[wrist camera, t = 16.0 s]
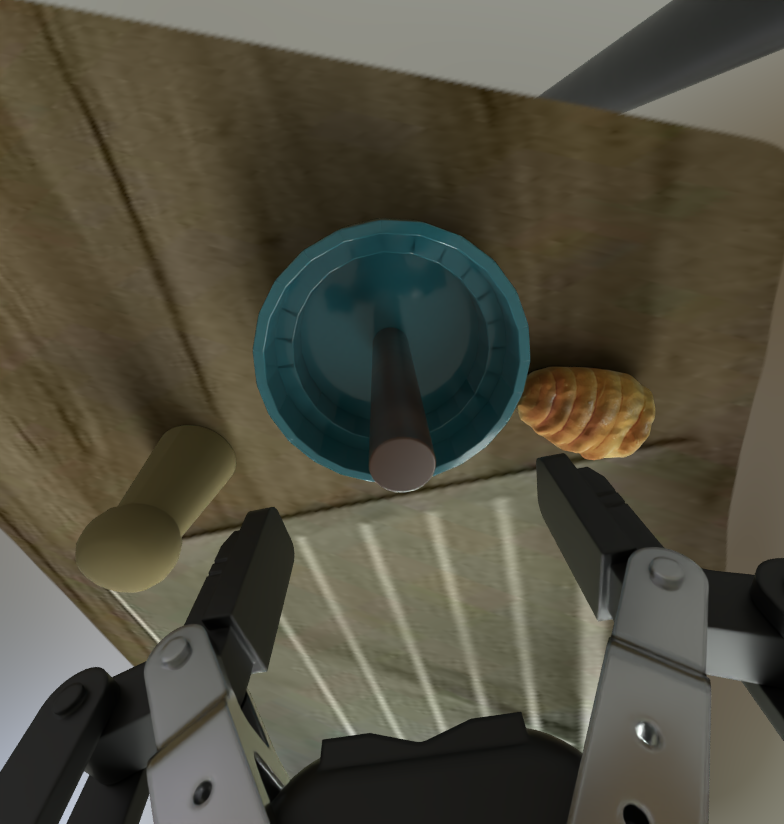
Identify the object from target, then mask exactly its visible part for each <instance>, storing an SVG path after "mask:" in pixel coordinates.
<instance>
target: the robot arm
mask: <svg viewBox="0 0 784 824" xmlns="http://www.w3.org/2000/svg"><path fill="white" fill-rule="evenodd" d="M536 469H537V492H538V503H539V507H540V511H541V514H542V516H543V518H544V520H545V522H546V524H547V526H548V528H549V530H550V532H551V534H552V536H553V537H554V539H555V541H556V543H557V545H558V547H559V549H560V551H561V553H562V554H563V556H564V558H565V560H566V562H567V564H568V566H569V568H570V569H571V571H572V573H573V575H574V577H575V579H576V581H577V583H578V585H579V586H580V588H581V590H582V592H583V594H584V596H585V598H586V600H587V602H588V603H589V605H590V607H591V609H592V611H593V613H594V615H595V617H596V618H597V620H598V621H603V620H609V619H613V620H614V626H613V631H612V635H611V637H609V640H608V643H607V647H606V651H605V655H604V660H603V664H602V669H601V673H600V678H599V682H598V687H597V691H596V696H595V700H594V704H593V709H592V713H591V718H590V722H589V727H588V731H587V736H586V740H585V745H584V749H583V753H581V752H580V751H579V750H577V749H576V748H574V747H573V746H571V745H569V744H568V743H566V742H564V741H563V740H560V739H558V738H556V737H554V736H552V735H550V734H547V733H544V732H541V731H538V730H533V729H528V728H526V727H525V723H524V720H523V716H522V713H521V712H516V713H509V714H502V715H495V716H487V717H480V718H473V719H470V720H468V721H465V722H463V723H461V724H459V725H457V726H455V727H453V728H451V729H449V730H447V731H445V732H443V733H441V734H439V735H437V736H434V737H432V738H430V739H428V740H426V741H423V742H414V741H409V740H403V739H398V738H393V737H388V736H382V735H377V734H372V733H367V734H360V735H353V736H346V737H338V738H331V739H324V740H322V748H321V757H320V759H318V760H316V761H314V762H313V763H311V764H310V765H308V766H307V767H305V768H304V769H303V770H301V771H300V772H299V773H298V774H297V775H295V776H294V777H293V778H292V779H291V780H290V778H289V776H288V774H287V772H286V771H285V769H284V767H283V766H282V764H281V762H280V760H279V758H278V756H277V754H276V752H275V749H274V747H273V745H272V742H271V740H270V738H269V735H268V733H267V731H266V728H265V726H264V724H263V721H262V719H261V716H260V714H259V712H258V709H257V707H256V705H255V702H254V700H253V698H252V695H251V693H250V691H249V689H248V688H247V686H248V683H249V679H250V675H251V674H253V673H259V672H266V671H267V670H268V666H269V662H270V658H271V653H272V649H273V645H274V641H275V637H276V633H277V629H278V625H279V621H280V617H281V612H282V608H283V604H284V600H285V596H286V592H287V588H288V584H289V580H290V575H291V571H292V567H293V563H294V547H293V543H292V540H291V538H290V536H289V534H288V532H287V530H286V527H285V525H284V523H283V521H282V519H281V517H280V515H279V512H278V510H277V509H276V508H275V507H270V508H265V509H260V510H254V511H250V512H248V514H247V515H246V517H245V520H244V522H243V524H242V527H241V529H240V530H238V531H234V532H233V533H232V534H231V535H230V537H229V538H228V539H227V540H226V541H225V542H224V543H223V545H222V546H221V548H220V550H219V552H218V554H217V556H216V558H215V564H213V565H212V567H211V569H210V571H209V576H208V577H207V578H206V580H205V582H204V584H203V586H202V588H201V590H200V593H199V595H198V597H197V599H196V601H195V603H194V605H193V607H192V610H191V612H190V614H189V616H188V618H187V620H186V622H185V624H184V626H182V627H180V628H177V629H176V630H174V631H172V632H171V633H169V634H168V635H167V636H166V637H164V638H163V639H162V640H161V641H160V642H159V643H158V644H157V645H156V647H155V648H154V649H153V651H152V652H151V654H150V655H149V657H148V659H147V661H146V662H143V663H141V664H139V665H137V666H135V667H133V668H131V669H129V670H127V671H124V672H122V673H120V674H118V675H116V676H114V677H111V676H110V675H109V674H108V673H107V672H106V671H105V670H104V669H102V668H100V667H93V668H89V669H85V670H83V671H81V672H79V673H77V674H75V675H74V676H72V677H71V678H69V679H68V680H67V681H65V682H64V683H63V684H62V685H60V687H58V688H57V689H56V690H55V691H54V692H53V693H52V694H51V695H50V697H49V698H48V699H47V700H46V701H45V703H44V704H43V706H42V707H41V709H40V710H39V712H38V713H37V715H36V717H35V718H34V720H33V722H32V723H31V725H30V726H29V728H28V729H27V731H26V732H25V734H24V735H23V737H22V739H21V740H20V742H19V743H18V745H17V747H16V748H15V750H14V751H13V753H12V754H11V756H10V758H9V759H8V761H7V762H6V764H5V765H4V767H3V769H2V770H1V772H0V824H59V821H60V819H61V817H62V815H63V813H64V811H65V809H66V807H67V805H68V802H69V801H70V799H71V796H72V795H73V792H74V790H75V788H76V786H77V784H78V782H79V780H80V778H81V776H82V774H83V772H84V771H85V772H86V773H88V774H89V777H88V779H87V781H86V783H85V786H84V788H83V790H82V792H81V794H80V796H79V798H78V801H77V802H76V805H75V807H74V809H73V811H72V813H71V815H70V817H69V819H68V822H67V824H139V822H140V819H141V816H142V813H143V810H144V807H145V805H146V802H147V799H148V796H149V794H150V800H151V808H152V815H153V821H154V824H708V821H709V819H708V818H709V773H710V771H709V770H710V726H711V684H710V679H709V678H708V677H707V676H706V674H707V675H712V676H718V677H723V678H729V679H734V680H740V681H742V682H743V684H744V685H745V687H746V688H747V690H748V691H749V693H750V694H751V695H752V697H753V698H754V700H755V701H756V702H757V704H758V705H759V707H760V708H761V710H762V711H763V712H764V714H765V715H766V717H767V718H768V720H769V721H770V722H771V724H772V725H773V727H774V728H775V729H776V731H777V732H778V734H779V735H780V736H781V738H782V739H783V741H784V558H776V559H770V560H767V561H764V562H762V563H761V564H760V565H759V566H758V568H757V570H756V573H755V575H750V574H740V573H731V572H721V571H713V570H707V569H703V568H700V567H699V566H698V565H697V564H696V563H695V562H694V561H692V560H691V559H689V558H688V557H686V556H684V555H683V554H680V553H678V552H676V551H673V550H670V549H666V548H664V547H663V546H662V545H661V544H660V542H659V541H658V540H657V539H656V538H655V536H654V535H653V534H652V533H651V532H650V531H649V529H648V528H647V527H646V526H645V525H644V523H643V522H642V521H641V520H640V519H639V517H638V516H637V515H636V514H635V513H634V511H633V510H632V509H631V508H630V507H629V506H628V504H625V501H624V500H623V498H622V497H621V496H620V495H619V494H618V493H616V491H615V489H614V488H613V487H612V485H611V484H610V483H609V482H608V481H607V479H606V478H605V477H604V476H602V475H600V474H599V473H597V472H595V471H594V470H592V469H590V468H588V467H584V468H579V469H577V468H576V467H575V466H574V464H573V463H572V462H571V461H570V459H569V458H568V457H567V455H566V454H564V453H561V454H556V455H551V456H546V457H540V458H537V461H536Z"/></svg>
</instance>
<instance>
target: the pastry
mask: <svg viewBox="0 0 784 824" xmlns="http://www.w3.org/2000/svg"><path fill="white" fill-rule="evenodd" d="M517 408H518V412H519V417H520V419H521V420H522V421H524V422H525V423H526V424H528V425H529V426H531V427H532V428H533V430H534V431H535V432H536V433H537V434H539V435H541V436H543V437H545V438H546V439H547V440H548V441H550V442H552V443H553V444H555V445H556V446H557V447H558V448H561V449H562V450H566V451H571V452H575V453H580V454H581V455H582V457H584V458H585V459H591V460H597V459H602V458H613V457H622V458H623V457H626V456H628V455H631V454H632V453H634V452H635V451H636V450H637V449H638V448H639V447H640V446H641V445H642V443H643V442H644V441H645V440H646V438H647V437H648V436H649V434H650V430H651V424H652V422H653V421H654V418H655V405H654V399H653V395H652V393H651V392H650V390H649V389H648V388H646V387H644V386H642V385H641V384H639V382H638V381H637V380H636V379H635V378H633V377H632V376H631V375H629V374H626V373H620V372H616V371H611V370H603V369H597V368H588V367H547V368H544V369H540V370H536V371H533V372H531V373H530V374H529V375H527V378H526V382H525V387H524V391H523V393H522V396H521V398H520V400H519V402H518V404H517Z"/></svg>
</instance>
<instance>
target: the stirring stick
mask: <svg viewBox="0 0 784 824" xmlns="http://www.w3.org/2000/svg"><path fill="white" fill-rule="evenodd" d="M435 468H436V458H435V454H434V449H433V445H432V441H431V437H430V432H429V428H428V424H427V420H426V415H425V411H424V407H423V403H422V399H421V394H420V390H419V386H418V382H417V377H416V373H415V369H414V365H413V360H412V356H411V352H410V348H409V344H408V340H407V337H406V335H405V334H404V333H403V332H402V331H401V330H399V329H396V328H385V329H382V330H381V331H379V332H378V333H377V334H376V336H375V337H374V340H373V352H372V381H371V411H370V440H369V471H370V474H371V476H372V478H373V479H374V480H375V482H376V483H377V484H378V485H380V486H381V487H383V488H385V489H387V490H390V491H394V492H409V491H413V490H416V489H418V488H420V487H422V486H423V485H425V484H426V483H427V482H428V481H429V480H430V479H431V477H432V476H433V474H434V471H435Z"/></svg>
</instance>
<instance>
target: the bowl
mask: <svg viewBox="0 0 784 824" xmlns="http://www.w3.org/2000/svg"><path fill="white" fill-rule="evenodd" d="M385 328H396V329H399V330H401V331H402V332H403V333H404V334H405V335H406V337H407V340H408V344H409V348H410V352H411V356H412V360H413V365H414V369H415V373H416V377H417V382H418V386H419V390H420V394H421V399H422V403H423V407H424V411H425V415H426V420H427V424H428V428H429V432H430V437H431V441H432V445H433V449H434V454H435V458H436V468H435V471H434V474H433V476H435V475H438V474H440V473H442V472H445V471H447V470H449V469H452V468H454V467H456V466H459V465H461V464H463V463H464V462H465V461H467V460H468V459H470V458H471V457H472V456H474V455H475V454H477V453H478V452H479V451H481V450H482V449H484V448H485V447H486V446H487V445H488V444H489V443H490V442H491V441H492V440H493V439H494V437H495V436H496V435H497V434H498V433H499V432H500V431H501V429H502V428H503V427H504V426H505V425H506V424H507V422H508V421H509V419H510V417H511V415H512V413H513V411H514V410H515V408H516V406H517V404H518V402H519V400H520V398H521V396H522V393H523V391H524V387H525V382H526V378H527V373H528V369H529V365H530V342H529V327H528V322H527V319H526V316H525V314H524V311H523V308H522V305H521V302H520V299H519V296H518V293H517V292H516V289H515V288H514V287H513V285H512V284H511V283H510V281H509V280H508V278H507V277H506V276H505V274H504V273H503V272H502V270H501V269H500V267H499V266H498V265H497V263H496V262H495V261H494V260H493V259H492V258H491V257H489V256H488V255H487V254H485V253H484V252H483V251H481V250H480V249H479V248H477V247H476V246H475V245H473V244H472V243H471V242H469V241H468V240H467V239H465V238H464V237H462V236H460V235H458V234H455V233H452V232H449V231H447V230H444V229H441V228H439V227H436V226H433V225H430V224H428V223H425V222H421V221H416V220H409V219H392V218H380V219H379V218H377V219H373V220H369V221H364V222H360V223H356V224H352V225H348V226H346V227H343V228H341V229H339V230H337V231H335V232H333V233H332V234H330V235H328V236H327V237H325V238H323V239H321V240H320V241H318V242H316V243H315V244H313V245H311V246H309V247H308V248H306V249H304V250H303V251H302V252H301V253H300V254H299V255H298V256H297V257H296V258H295V259H294V260H293V261H292V262H291V264H290V265H289V266H288V267H287V268H286V269H285V270H284V271H283V272H282V273H281V274H280V275H279V276H278V277H277V279H276V280H275V281H274V283H273V285H272V287H271V289H270V292H269V294H268V296H267V298H266V300H265V302H264V304H263V306H262V308H261V310H260V312H259V315H258V320H257V326H256V332H255V338H254V344H253V358H254V367H255V375H256V383H257V387H258V389H259V392H260V394H261V397H262V399H263V401H264V404H265V406H266V409H267V411H268V414H269V415H270V417H271V418H272V420H273V421H274V422H275V424H276V425H277V426H278V427H279V429H280V430H281V431H282V433H283V434H284V435H285V437H286V438H287V439H288V441H290V442H291V443H292V444H293V445H294V446H296V447H297V448H298V449H299V450H300V451H302V452H303V453H304V454H305V455H307V456H308V457H309V458H310V459H312V460H313V461H314V462H316V463H318V464H320V465H322V466H324V467H326V468H329V469H331V470H333V471H335V472H337V473H339V474H342V475H345V476H349V477H354V478H358V479H362V480H366V481H370V482H371V481H372V482H375V480H374V479H373V478H372V476H371V474H370V471H369V440H370V411H371V381H372V352H373V340H374V337H375V336H376V334H377V333H378V332H379V331H381V330H382V329H385Z"/></svg>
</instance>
